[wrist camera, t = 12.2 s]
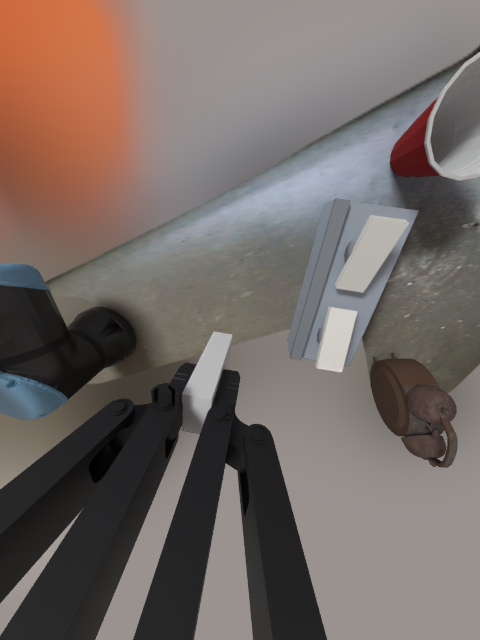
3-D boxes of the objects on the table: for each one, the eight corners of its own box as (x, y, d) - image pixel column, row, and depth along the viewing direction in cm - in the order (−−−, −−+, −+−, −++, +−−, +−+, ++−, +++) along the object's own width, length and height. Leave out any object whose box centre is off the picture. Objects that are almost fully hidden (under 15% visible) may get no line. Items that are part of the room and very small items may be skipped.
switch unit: (287, 341, 47) (290, 358, 41) (323, 203, 35) (336, 198, 29) (340, 350, 46) (352, 369, 40) (396, 213, 34) (425, 210, 28)
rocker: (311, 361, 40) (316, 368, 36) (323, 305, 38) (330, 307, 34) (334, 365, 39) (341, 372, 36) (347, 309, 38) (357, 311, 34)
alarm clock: (396, 392, 49) (471, 487, 31) (364, 393, 51) (417, 485, 33) (404, 340, 44) (501, 420, 26) (368, 343, 45) (435, 422, 27)
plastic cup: (435, 195, 33) (518, 179, 22) (365, 195, 34) (410, 180, 23) (468, 104, 28) (592, 28, 17) (385, 107, 29) (454, 38, 19)
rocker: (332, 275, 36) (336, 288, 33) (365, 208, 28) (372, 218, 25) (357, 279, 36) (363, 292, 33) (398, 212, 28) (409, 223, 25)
